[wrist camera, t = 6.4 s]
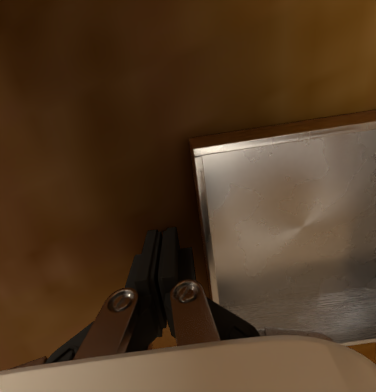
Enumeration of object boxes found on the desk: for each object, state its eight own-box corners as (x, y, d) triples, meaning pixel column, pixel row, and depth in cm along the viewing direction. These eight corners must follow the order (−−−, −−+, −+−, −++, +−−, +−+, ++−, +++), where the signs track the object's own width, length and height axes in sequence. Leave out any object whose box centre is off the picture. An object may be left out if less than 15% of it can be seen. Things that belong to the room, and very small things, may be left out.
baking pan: (188, 137, 11) (192, 148, 7) (427, 101, 10) (540, 96, 7) (211, 309, 15) (221, 363, 12) (379, 285, 15) (436, 333, 12)
